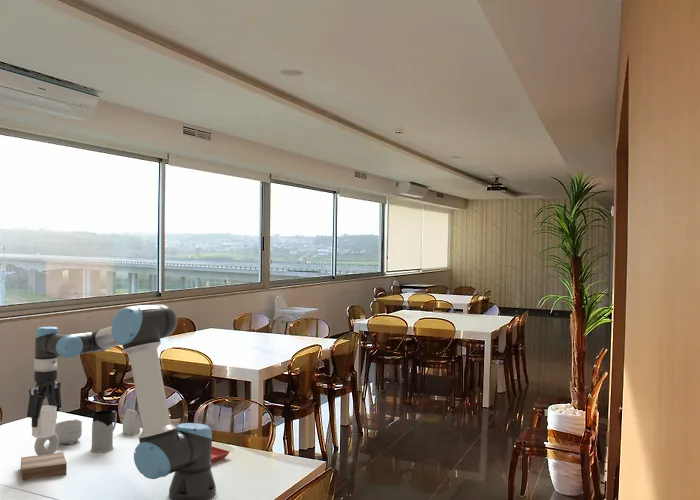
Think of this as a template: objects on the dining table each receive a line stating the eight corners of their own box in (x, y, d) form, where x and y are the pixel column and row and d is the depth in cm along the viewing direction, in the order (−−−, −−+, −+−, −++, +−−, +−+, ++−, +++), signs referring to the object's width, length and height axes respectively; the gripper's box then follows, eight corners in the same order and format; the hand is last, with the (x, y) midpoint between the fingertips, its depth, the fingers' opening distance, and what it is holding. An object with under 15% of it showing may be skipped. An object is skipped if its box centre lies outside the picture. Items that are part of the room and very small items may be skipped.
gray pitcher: (85, 452, 243) (86, 414, 244) (106, 441, 257) (106, 406, 258) (105, 453, 242) (106, 416, 242) (125, 443, 256) (125, 407, 256)
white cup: (32, 433, 223) (32, 406, 223) (56, 431, 227) (56, 404, 227) (31, 439, 216) (31, 411, 216) (55, 437, 220) (56, 409, 220)
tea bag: (133, 435, 268) (133, 412, 268) (122, 432, 271) (123, 410, 271) (139, 433, 271) (140, 410, 271) (129, 430, 274) (129, 408, 274)
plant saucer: (230, 459, 240) (230, 450, 240) (195, 472, 225) (196, 463, 225) (198, 450, 250) (198, 442, 250) (163, 462, 235) (163, 453, 235)
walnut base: (66, 474, 219) (66, 463, 219) (22, 481, 212) (22, 469, 212) (62, 462, 231) (63, 452, 231) (20, 468, 224) (21, 457, 224)
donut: (54, 452, 242) (55, 427, 242) (60, 453, 241) (61, 428, 241) (31, 459, 233) (32, 433, 233) (38, 461, 232) (38, 435, 232)
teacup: (70, 446, 250) (71, 427, 250) (47, 444, 252) (47, 425, 252) (91, 437, 263) (92, 418, 263) (69, 435, 265) (69, 416, 266)
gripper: (34, 375, 211) (32, 441, 211) (73, 365, 231) (71, 425, 231) (16, 374, 212) (14, 439, 212) (56, 364, 232) (54, 424, 232)
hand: (44, 432), depth 221 cm, fingers closed on white cup, 8 cm apart
